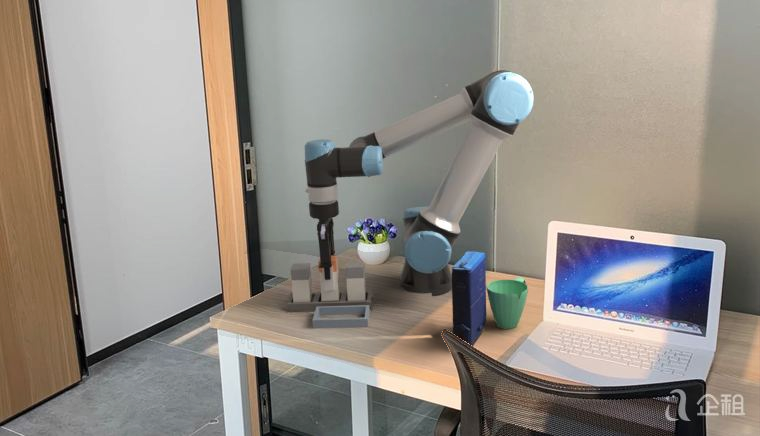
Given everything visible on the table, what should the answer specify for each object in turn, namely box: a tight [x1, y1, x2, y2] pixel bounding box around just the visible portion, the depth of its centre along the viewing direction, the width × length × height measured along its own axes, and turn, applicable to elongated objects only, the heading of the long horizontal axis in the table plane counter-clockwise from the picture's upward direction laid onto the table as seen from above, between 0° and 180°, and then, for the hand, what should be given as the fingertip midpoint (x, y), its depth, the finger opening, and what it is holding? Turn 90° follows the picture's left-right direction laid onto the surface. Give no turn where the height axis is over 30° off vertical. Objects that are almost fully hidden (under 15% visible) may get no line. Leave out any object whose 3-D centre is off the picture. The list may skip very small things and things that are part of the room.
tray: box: [311, 305, 371, 329], centre depth 172 cm, size 14×9×3 cm, turn 88°
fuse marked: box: [318, 254, 341, 301], centre depth 180 cm, size 4×4×11 cm
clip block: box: [285, 290, 374, 313], centre depth 182 cm, size 23×9×3 cm, turn 88°
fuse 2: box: [345, 261, 367, 301], centre depth 180 cm, size 4×4×11 cm
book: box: [451, 251, 487, 347], centre depth 158 cm, size 14×5×20 cm, turn 157°
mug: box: [486, 276, 529, 330], centre depth 168 cm, size 15×10×10 cm
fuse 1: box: [290, 262, 313, 303], centre depth 181 cm, size 4×4×11 cm
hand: (330, 286), depth 181 cm, fingers closed on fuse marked, 4 cm apart
